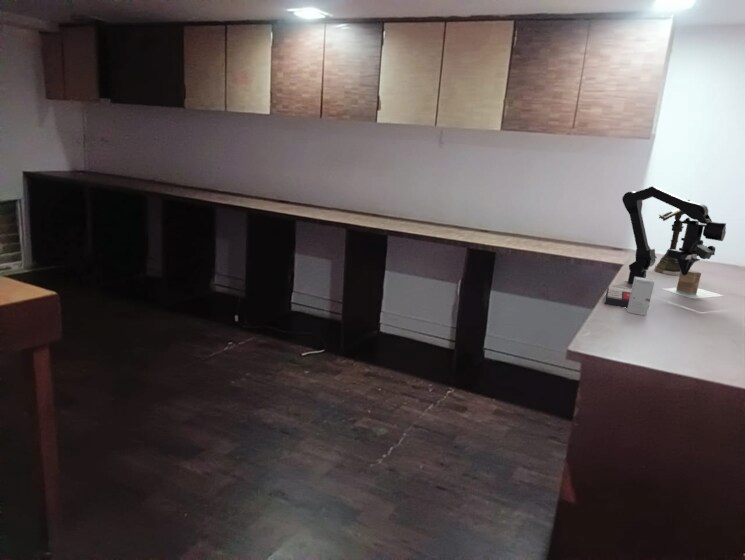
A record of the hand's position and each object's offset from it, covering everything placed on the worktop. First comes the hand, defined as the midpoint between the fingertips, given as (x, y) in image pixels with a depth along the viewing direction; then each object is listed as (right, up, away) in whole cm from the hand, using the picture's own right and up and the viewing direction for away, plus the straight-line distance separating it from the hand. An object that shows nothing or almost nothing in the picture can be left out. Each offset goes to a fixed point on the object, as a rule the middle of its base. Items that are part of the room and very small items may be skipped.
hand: (684, 275), depth 226 cm
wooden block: (+3, -7, +4) cm, 8 cm away
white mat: (+6, -7, +6) cm, 11 cm away
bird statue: (+14, +2, +44) cm, 46 cm away
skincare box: (-32, -13, -29) cm, 45 cm away
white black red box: (-32, -11, -17) cm, 38 cm away
